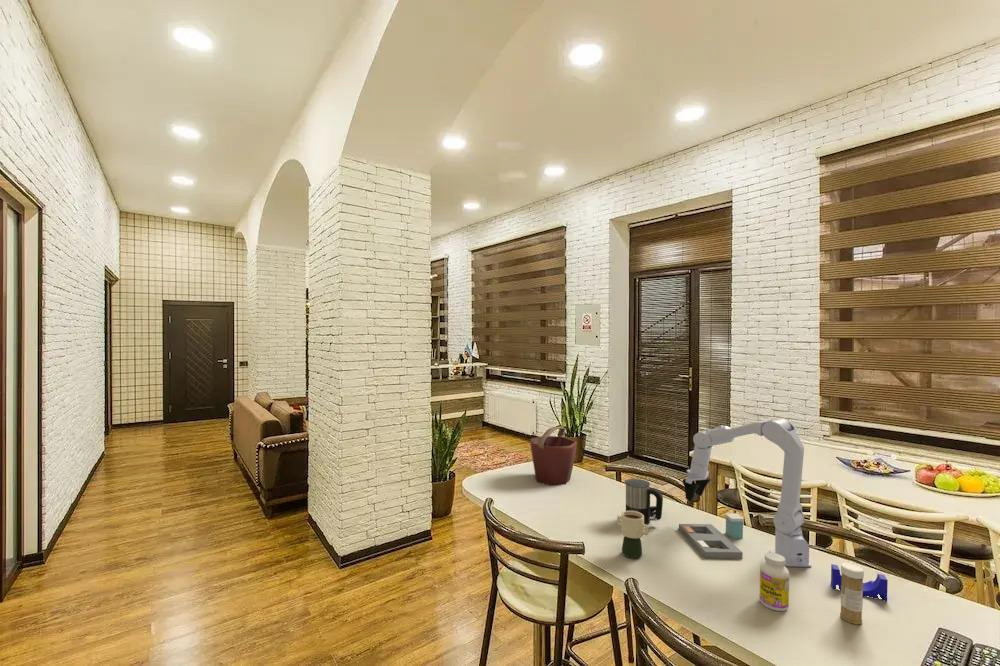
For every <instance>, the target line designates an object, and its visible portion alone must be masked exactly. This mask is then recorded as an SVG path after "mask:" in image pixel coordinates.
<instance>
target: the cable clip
mask: <svg viewBox="0 0 1000 666" xmlns="http://www.w3.org/2000/svg"><path fill="white" fill-rule="evenodd" d="M830 566H831V567H830V568H831V569H830V573H831V574H830V585H831V588H832V587H833V588H832V589H833V590H834V589H836V585H838V586H839V589H840V592H841V585H842V573H841V568H840V566H839V565H838V564H833V563H831V565H830ZM888 584H889V582H888V579H887V577H886V575H885V574H881V573H877V576H876V579H875V580H869V581H867V582H863V597H865V596H869V597H873V598H872V599H874V598H878V596H877V595H878V594H879V595H880V597H881V598H882V600H881V601H883V600H885V601H884V602H888ZM869 597H868V598H869ZM878 599H879V598H878ZM878 599H877V600H878Z"/></svg>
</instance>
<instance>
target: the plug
mask: <svg viewBox="0 0 1000 666" xmlns="http://www.w3.org/2000/svg"><path fill="white" fill-rule="evenodd" d="M724 517H725V534H726V535H727V536H728V537H729V538H731V539H743V538H744V536H743V535H744V523H745V518H744V517H742V515H740V514H739V513H730V512H729V513H724Z"/></svg>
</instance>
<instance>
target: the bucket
mask: <svg viewBox="0 0 1000 666" xmlns="http://www.w3.org/2000/svg"><path fill="white" fill-rule="evenodd" d="M566 429H567V428H566V427H562V426H553V427H550V428H548V429H547V430H546V431H545V432H544V433H543V434H542V435H541V436H537V437H532V438H530V439H529V440H530V441H529V443H530V444H529V445H530V451H531V456H532V464H533V469H534V475H535V479H536V483H539V482H540V483H539V484H543V483H544V485H547V484H548V486H551V485H552V486H560V485H559V484H565V485H567V484H568V483H569V482H570V480H571V478H572V473H573V468H574V463H575V459H576V453H577V448H578V447H577V446H578V442H577V441H576V440H574V439H571V438H569V437H566V434H565V431H566ZM557 430H558V431H557ZM554 431H557V432H558V434H557V436H553V435H551V434H553V432H554ZM567 482H568V483H567ZM566 483H567V484H566Z"/></svg>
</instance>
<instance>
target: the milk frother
mask: <svg viewBox="0 0 1000 666" xmlns="http://www.w3.org/2000/svg"><path fill="white" fill-rule="evenodd" d="M624 483H625V511H636V512H639V513H641V514H643V515H644V524H645V525H648V526H649V524H651V520H650V519H651V518H652V517H654V516H655V520H657V521H659V520H661V519H662V515H663V504H664V498H663V494H662V492H661V491H660V490H658V488H654V487H650V485H651V483H650V482H649V481H647V480H646V479H641V478H629V479H626V480H624ZM651 495H652V496H654V497H655V499H656V502H655V506H654V505H651Z"/></svg>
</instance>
